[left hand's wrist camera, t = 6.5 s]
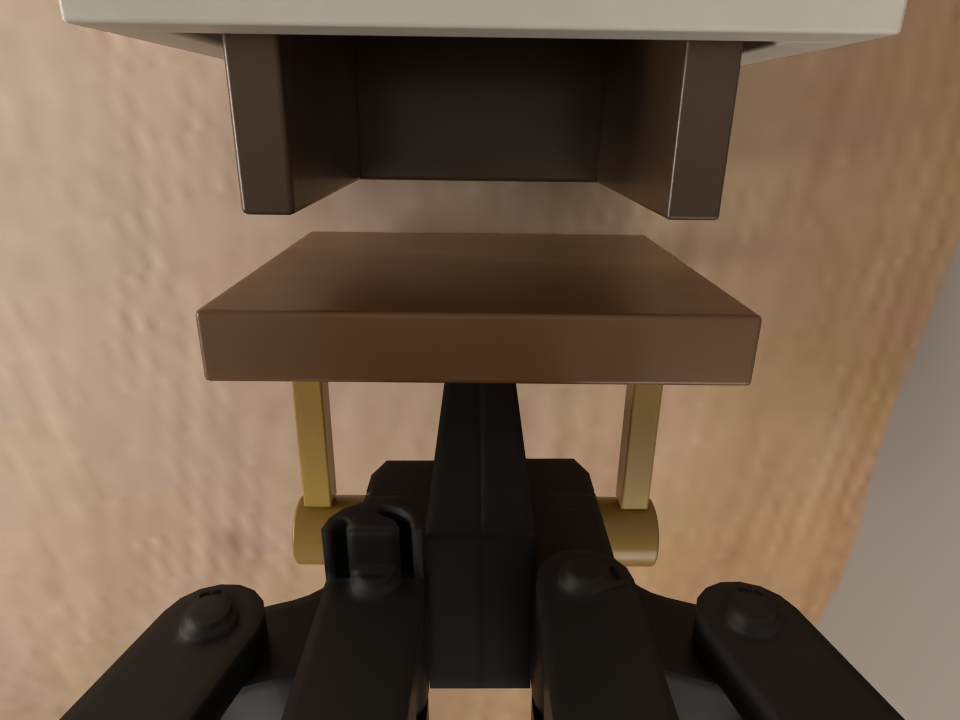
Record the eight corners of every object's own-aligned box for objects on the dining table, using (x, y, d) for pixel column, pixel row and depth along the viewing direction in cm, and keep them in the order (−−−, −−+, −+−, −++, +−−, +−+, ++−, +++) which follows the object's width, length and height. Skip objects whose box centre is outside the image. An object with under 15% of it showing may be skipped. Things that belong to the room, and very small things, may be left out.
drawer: (622, 457, 19) (705, 649, 12) (328, 455, 19) (243, 647, 12) (736, -642, 11) (1146, -1836, 4) (237, -654, 11) (-143, -1894, 4)
